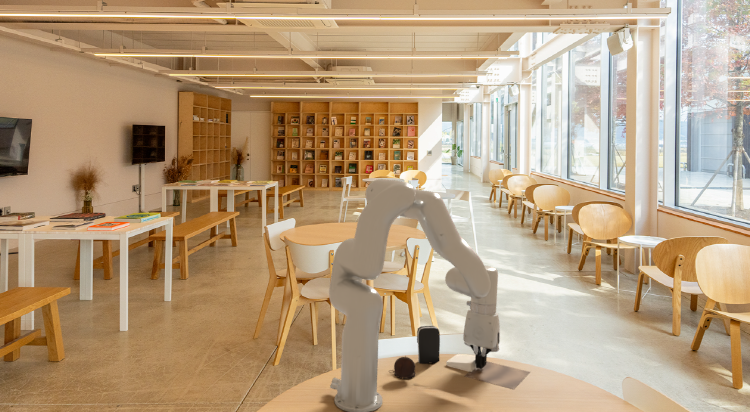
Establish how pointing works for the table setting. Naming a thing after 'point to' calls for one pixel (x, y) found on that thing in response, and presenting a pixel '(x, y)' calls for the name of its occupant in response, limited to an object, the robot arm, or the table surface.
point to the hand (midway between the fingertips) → (480, 366)
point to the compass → (404, 368)
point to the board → (499, 375)
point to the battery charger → (428, 344)
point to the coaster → (462, 362)
